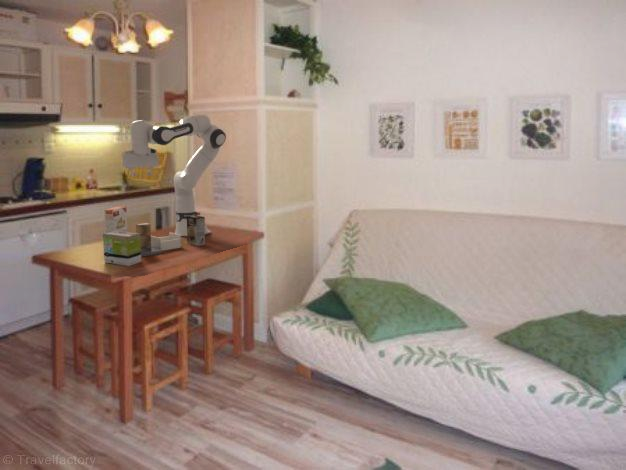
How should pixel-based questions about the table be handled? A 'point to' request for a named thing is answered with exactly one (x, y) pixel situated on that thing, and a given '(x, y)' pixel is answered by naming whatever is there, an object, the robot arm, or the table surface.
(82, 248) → the table surface
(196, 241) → the coffee box
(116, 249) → the tea box
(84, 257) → the table surface
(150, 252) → the plate
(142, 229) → the walnut box
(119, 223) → the cracker box
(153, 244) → the white open bin
